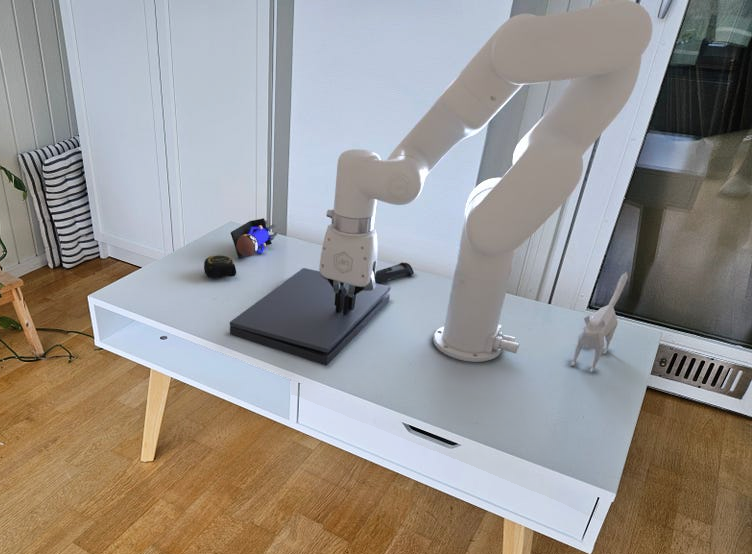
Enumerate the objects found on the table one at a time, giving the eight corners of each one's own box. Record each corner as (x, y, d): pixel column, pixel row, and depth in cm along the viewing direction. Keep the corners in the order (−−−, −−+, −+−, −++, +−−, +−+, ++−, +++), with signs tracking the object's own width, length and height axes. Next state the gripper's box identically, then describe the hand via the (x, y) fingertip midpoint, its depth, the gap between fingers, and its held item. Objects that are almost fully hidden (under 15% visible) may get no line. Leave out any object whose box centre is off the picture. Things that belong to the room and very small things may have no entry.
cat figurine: (561, 374, 114) (583, 305, 106) (592, 332, 127) (614, 267, 119) (587, 384, 111) (611, 313, 104) (616, 339, 125) (640, 273, 117)
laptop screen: (390, 290, 135) (390, 286, 135) (327, 353, 113) (327, 348, 113) (303, 271, 145) (303, 267, 144) (229, 326, 123) (229, 321, 122)
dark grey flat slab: (388, 301, 137) (389, 293, 136) (326, 366, 115) (327, 357, 114) (302, 278, 145) (303, 271, 144) (229, 334, 124) (229, 326, 123)
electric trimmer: (352, 286, 143) (353, 273, 142) (403, 270, 150) (405, 258, 149) (363, 292, 141) (364, 279, 139) (414, 276, 148) (416, 263, 146)
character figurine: (280, 246, 162) (249, 267, 151) (256, 238, 165) (224, 258, 154) (283, 217, 158) (251, 236, 147) (258, 209, 161) (225, 228, 150)
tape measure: (206, 282, 143) (205, 267, 141) (202, 270, 149) (202, 255, 146) (236, 280, 144) (236, 265, 142) (231, 267, 150) (231, 253, 148)
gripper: (306, 218, 116) (300, 308, 126) (384, 237, 110) (372, 329, 119) (324, 207, 121) (318, 293, 131) (400, 224, 115) (387, 313, 125)
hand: (344, 310), depth 125 cm, fingers closed
